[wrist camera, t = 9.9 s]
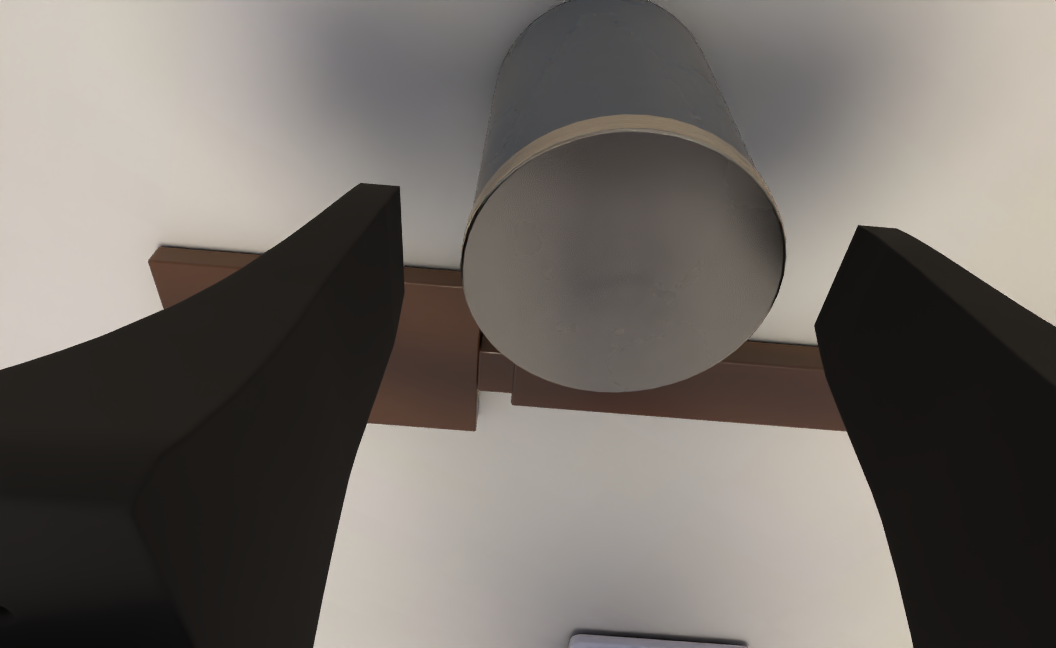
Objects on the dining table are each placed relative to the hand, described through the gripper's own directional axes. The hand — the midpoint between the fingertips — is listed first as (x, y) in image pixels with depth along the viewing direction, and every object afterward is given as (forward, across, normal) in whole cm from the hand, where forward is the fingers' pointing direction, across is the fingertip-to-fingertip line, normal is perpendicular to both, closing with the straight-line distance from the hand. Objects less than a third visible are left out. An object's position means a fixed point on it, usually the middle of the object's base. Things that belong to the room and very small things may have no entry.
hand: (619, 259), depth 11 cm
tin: (+6, 0, 0) cm, 6 cm away
